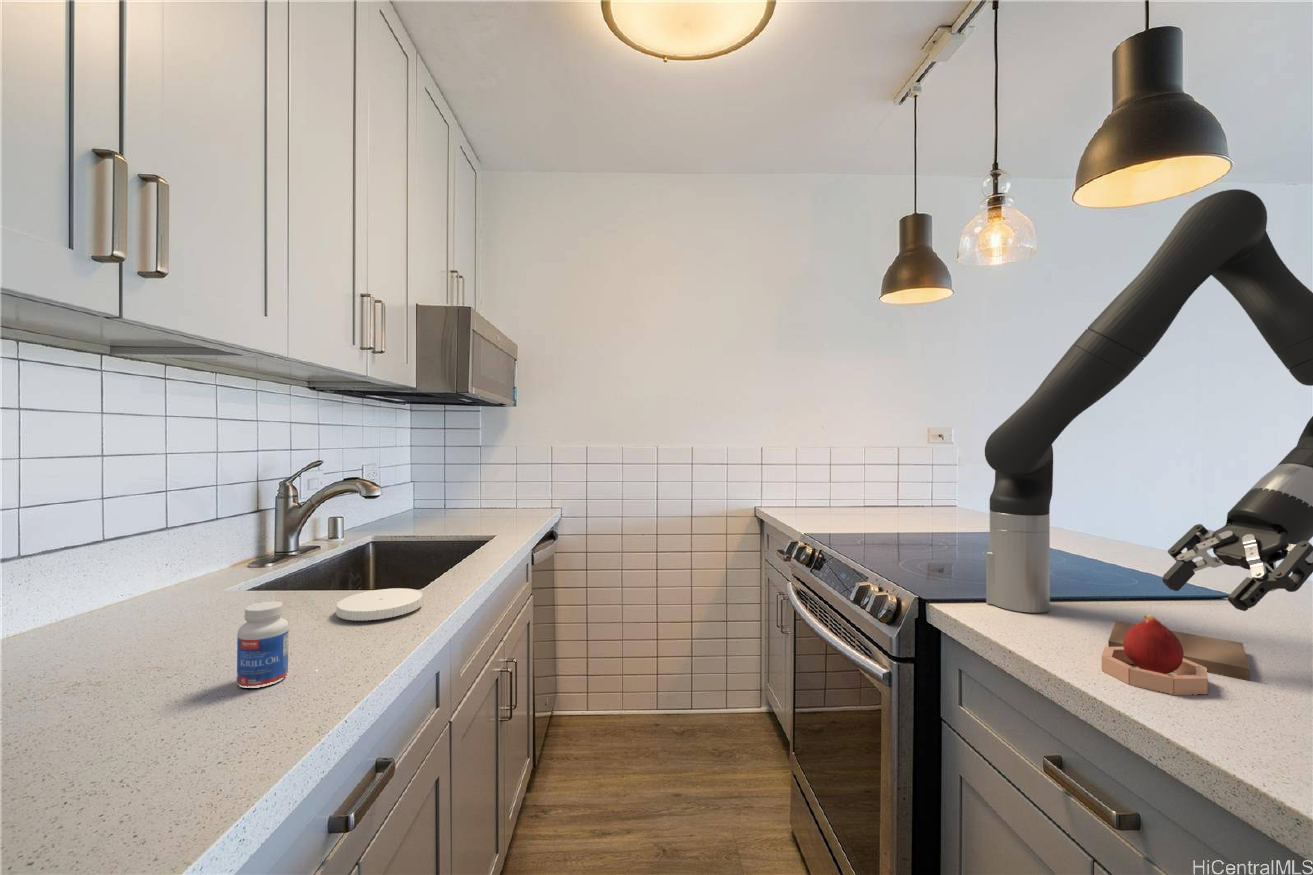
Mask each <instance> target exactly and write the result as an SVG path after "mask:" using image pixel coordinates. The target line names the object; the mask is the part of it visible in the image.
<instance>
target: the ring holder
mask: <svg viewBox="0 0 1313 875" xmlns="http://www.w3.org/2000/svg"><path fill="white" fill-rule="evenodd" d="M1132 665H1135V664H1134V663H1133V662H1132V661H1131V660H1130V659H1129V658H1128V657H1127V655H1126V653H1125V651H1124V647H1108V646H1104V648H1103V651H1102V654H1101V671H1102V672H1104V673H1106V674H1107V675H1109V676H1112V677H1113V678H1115V679H1117V680H1119V681H1121V682H1122V683H1124V684H1127V685H1129V686H1133V687H1138V688H1142V689H1145V690H1150V691H1154V692H1158V691H1160V692H1159V693H1162V692H1165V693H1164V694H1166V693H1169V694H1168V695H1171V694H1174V695H1173V696H1198V695H1197V694H1208V695H1209V691H1208V690H1209V686H1208V685H1209V683H1208V682H1209V681H1208V680H1209V678H1208V672H1207V668H1206V667H1204V666H1201V665H1199V664H1196V663H1194V662H1192V661H1189V660H1187V659H1184V658H1183V661H1182V664H1181V665H1180V667H1179V668H1178V669H1177V670H1175V671H1173V672H1172V673H1173V674H1162V673H1158V672H1153V671H1149V670H1144V669H1140V668H1139V667H1134V666H1132ZM1178 674H1179V675H1178ZM1192 694H1193V695H1192Z"/></svg>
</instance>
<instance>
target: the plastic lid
mask: <svg viewBox="0 0 1313 875" xmlns="http://www.w3.org/2000/svg"><path fill="white" fill-rule="evenodd" d="M423 604H424V593H423V592H422V591H421V590H419V589H418V590H417V589H414V588H413V589H412V588H400V587H397V588H396V587H395V588H386V589H385V588H383V589H373V590H368V591H364V592H360V593H355V594H352V595H349V596H346V597H343V598H342V599H340V600H339V601H337V603H336V606H335V612H336V614H335V615H336V616H337V618H341V619H343V620H346V621H347V620H348V621H362V622H363V621H372V620H374V621H375V620H384V619H389V618H395V617H398V616H402V615H405V614H409V613H411V612H413V611H416V610H418V609H419V608H421V607H422V606H423Z"/></svg>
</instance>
